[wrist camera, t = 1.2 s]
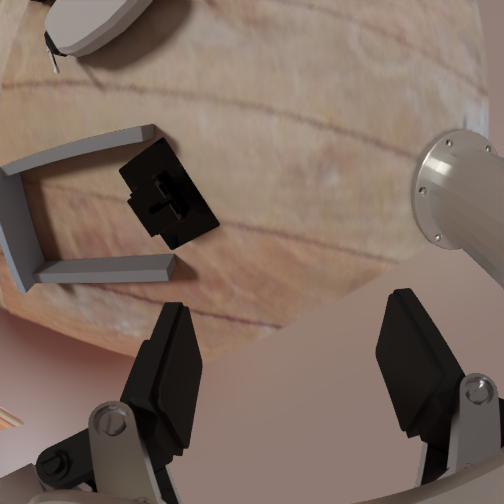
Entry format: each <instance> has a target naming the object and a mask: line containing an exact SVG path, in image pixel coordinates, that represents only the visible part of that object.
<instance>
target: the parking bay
mask: <svg viewBox="0 0 504 504" xmlns="http://www.w3.org/2000/svg"><path fill="white" fill-rule="evenodd" d="M154 137H155V133H154V124H150V125H144V126H139V127H134V128H129V129H124V130H120V131H115V132H111V133H106V134H102V135H98V136H94V137H90V138H86V139H83V140H79V141H75V142H72V143H68V144H65V145H61V146H58V147H55V148H52V149H48V150H45V151H42V152H39V153H36V154H33V155H30V156H27V157H25V158H22V159H19V160H16V161H14V162H11V163H9V164H6V165H4V166H1V167H0V244H1V246H2V249H3V252H4V255H5V258H6V260H7V263H8V265H9V268H10V271H11V273H12V275H13V278H14V280H15V283H16V285H17V287H18V290H19V292H20V293H27V292H28V290H29V289H30V288H31V287H32V286H33V285H34V284H35V283H111V282H154V281H169V280H170V278H171V275H172V273H173V271H174V269H175V267H176V260H175V255H174V254H161V255H143V256H126V257H108V258H91V259H73V260H56V261H45V259H44V257H43V254H42V251H41V248H40V245H39V242H38V239H37V236H36V232H35V229H34V226H33V222H32V219H31V215H30V212H29V208H28V204H27V200H26V196H25V192H24V188H23V183H22V179H21V174H20V172H21V171H24V170H27V169H31V168H34V167H37V166H40V165H44V164H47V163H50V162H54V161H58V160H61V159H65V158H69V157H72V156H76V155H80V154H84V153H89V152H93V151H97V150H102V149H106V148H111V147H116V146H121V145H126V144H131V143H136V142H142V141H145V140H148V139H151V138H154Z"/></svg>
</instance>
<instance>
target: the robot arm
mask: <svg viewBox="0 0 504 504" xmlns="http://www.w3.org/2000/svg"><path fill="white" fill-rule="evenodd" d="M419 189H420V190H419ZM411 204H412V209H413V215H414V217H415V220H416V223H417V225H418V227H419V228H420V230H421V232H422V233H423V234H424V235H425V236H426V237H427V238H428V239H429V240H430V241H431V242H432V243H433V244H435V245H437V246H439V247H441V248H444V249H450V250H451V249H460V248H462V249H463V250H464V251H465V252H466V253H468V254H469V255H470V256H471V257H472V258H473V259H474V260H475V261H476V262H477V263H478V264H479V265H480V266H481V267H482V268H484V270H485V271H486V272H487V273H488V274H489V275H490V276H492V277H493V279H495V280H496V282H497V283H498V284H499V285H500V286H501V287H502V288H503V289H504V158H502V157H500V156H498V154H497V152H496V150H495V148H494V147H493V145H492V144H491V143H490V142H489V141H488V140H487V139H486V138H485V137H483V136H482V135H480V134H479V133H476V132H473V131H470V130H464V129H456V130H451V131H448V132H445V133H443V134H442V135H440V136H438V137H437V138H435V139H434V140H433V142H432V143H431V144H430V145H429V146H428V147H427V148H426V150H425V151H424V153H423V154H422V156H421V158H420V160H419V162H418V164H417V166H416V170H415V173H414V177H413V181H412V189H411ZM376 359H377V361H378V364H379V367H380V369H381V372H382V375H383V378H384V380H385V383H386V386H387V389H388V392H389V395H390V398H391V401H392V403H393V406H394V409H395V412H396V415H397V419H398V421H399V425H400V428H401V430H402V431H403V432H404V431H406V434H407V437H408V438H411V437H414V436H418V435H420V438H421V440H422V441H423V446H422V452H421V458H420V463H419V468H418V473H417V478H416V483H415V487H414V488H413V489H410V490H407V491H403V492H400V493H396V494H392V495H389V496H385V497H381V498H377V499H372V500H368V501H364V502H358V503H354V504H504V399H501V398H499V397H498V391H497V387H496V385H495V384H494V382H493V381H492V380H491V379H490V378H489V377H487V376H486V375H484V374H480V373H472V374H469V375H467V376H465V374H464V372H463V370H462V369H461V367H460V365H459V363H458V362H457V360H456V358H455V357H454V355H453V354H452V351H451V350H450V348H449V346H448V345H447V343H446V341H445V340H444V338H443V337H442V335H441V333H440V332H439V330H438V328H437V327H436V326H435V324H434V323H433V321H432V319H431V318H430V317H429V315H428V313H427V312H426V310H425V309H424V307H423V306H422V304H421V303H420V301H419V300H418V298H417V297H416V295H415V294H414V292H413V291H412V290H411V289H410V288H405V289H396V290H394V292H393V294H390V295H389V297H388V302H387V306H386V310H385V315H384V319H383V323H382V327H381V331H380V336H379V339H378V343H377V346H376ZM201 374H202V359H201V355H200V351H199V347H198V343H197V339H196V335H195V331H194V327H193V323H192V319H191V315H190V311H189V308H188V307H187V306H183V303H182V302H166V303H165V304H164V306H163V308H162V311H161V313H160V316H159V318H158V320H157V323H156V325H155V328H154V330H153V333H152V335H151V338H150V340H144V341H143V343H142V345H141V347H140V349H139V352H138V354H137V357H136V359H135V362H134V364H133V367H132V369H131V372H130V375H129V377H128V380H127V383H126V385H125V388H124V390H123V393H122V396H121V398H120V401H108V402H105V403H102V404H100V405H99V406H97V407H96V408H95V409H94V410H93V411H92V413H91V415H90V417H89V422H88V428H87V429H85V430H83V431H81V432H79V433H77V434H75V435H73V436H71V437H69V438H67V439H65V440H63V441H61V442H59V443H57V444H55V445H53V446H51V447H49V448H47V449H45V450H44V451H43V452H42V453H41V454H40V455H39V457H38V459H37V462H36V465H33V464H32V463H30V464H28V465H26V466H24V467H22V468H20V469H18V470H16V471H14V472H12V473H10V474H8V475H6V476H4V477H2V478H0V504H182V502H181V499H180V496H179V494H178V491H177V488H176V486H175V483H174V480H173V477H172V475H171V472H170V469H169V466H168V464H169V463H170V462H172V460H173V455H176V456H182V454H183V449H188V447H189V444H190V438H191V431H192V425H193V420H194V414H195V408H196V401H197V396H198V390H199V385H200V379H201Z"/></svg>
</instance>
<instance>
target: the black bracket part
mask: <svg viewBox="0 0 504 504" xmlns="http://www.w3.org/2000/svg"><path fill="white" fill-rule="evenodd" d="M119 173H120V174H121V176H122V177H123V179H124V180H125V182H126V184H127V185H128V187H129V188H130V190H131V191H132V193H131V194H130V196H131V198H130V199H129V200H128V201H127V202H128V204H129V205H130V207H131V208H132V210H133V211H134V213H135V214H136V216H137V217H138V218H139V220H140V221H141V223H142V224H143V226H144V227H145V229H146V230H147V232H148V233H149V234H150V236H151V237H153V236H155V235H159V234H160V235H161V236H162V238H163V239H164V241H165V242H166V244H167V245H168V247H169V248H170V249H171V250H174V249H176V248H177V247H179V246H181V245H183V244H185V243H187V242H189V241H191V240H193V239H195V238H197V237H199V236H200V235H202V234H204V233H206V232H208V231H210V230H212V229H214V228H216V227H218V226H219V225H220V223H219V222H218V220H217V219H216V217H215V216H214V214H213V213H212V211H211V209H210V208H209V206H208V205H207V203H206V202H205V200H204V199H203V197H202V196H201V194H200V192H199V191H198V189H197V188H196V186H195V185H194V183H193V182H192V180H191V178H190V177H189V175H188V174H187V172H186V171H185V169H184V168H183V166H182V164H181V163H180V161H179V160H178V158H177V157H176V155H175V153H174V152H173V150H172V149H171V147H170V146H169V144H168V142H167V141H166V139H165V138H164V137H163V138H161V139H159V140H158V141H157V142H155V143H154V144H152V145H151V146H150V147H148V148H147V149H145V150H144V151H143V152H141V153H140V154H139V155H137V156H136V157H135V158H133V159H132V160H131V161H129V162H128V163H127V164H126V165H124V166H123V167H122V168H120V169H119Z"/></svg>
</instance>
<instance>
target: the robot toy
mask: <svg viewBox="0 0 504 504" xmlns="http://www.w3.org/2000/svg"><path fill="white" fill-rule="evenodd" d="M31 1H37V2H45V1H47V0H31ZM51 1H52V2H55V3H54V4H53V6H52V7H51V9H50V10H49V12H48V15H47V18H46V21H45V25H44V27H45V29H46V32H45V34H44V36H45V40H46V45H47V46H48V48H47V49H46V50H47V53H49V54H50V57H51V60H52V64H53V67H54V72H55V73H56V74H59V72H60V71H59V68H58V67H57V64H56V61H55V58H54V55H53V54H55V55H59V56H64V57H66V56H67V55H71V56H75V57H81V56H84V55H88V54H90V53H92V52H94V51H95V50H97V49H99V48H100V47H102V46H104V45H105V44H106V43H108V42H109V41H111V40H112V39H114V38H115V37H116V36H118V35H119V34H121V33H122V32H124V31H125V30H126V29H127V28H128V27H129V26H130V25H131V24H132V23H133V22H134V21H135V20H136V19H137V18H138V17H139V16H140V15H141V14H142V13H143V11H144V10H145V9H146V8H147V7H148V6H149V5H150V4H151V2H152V1H153V0H51Z"/></svg>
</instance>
